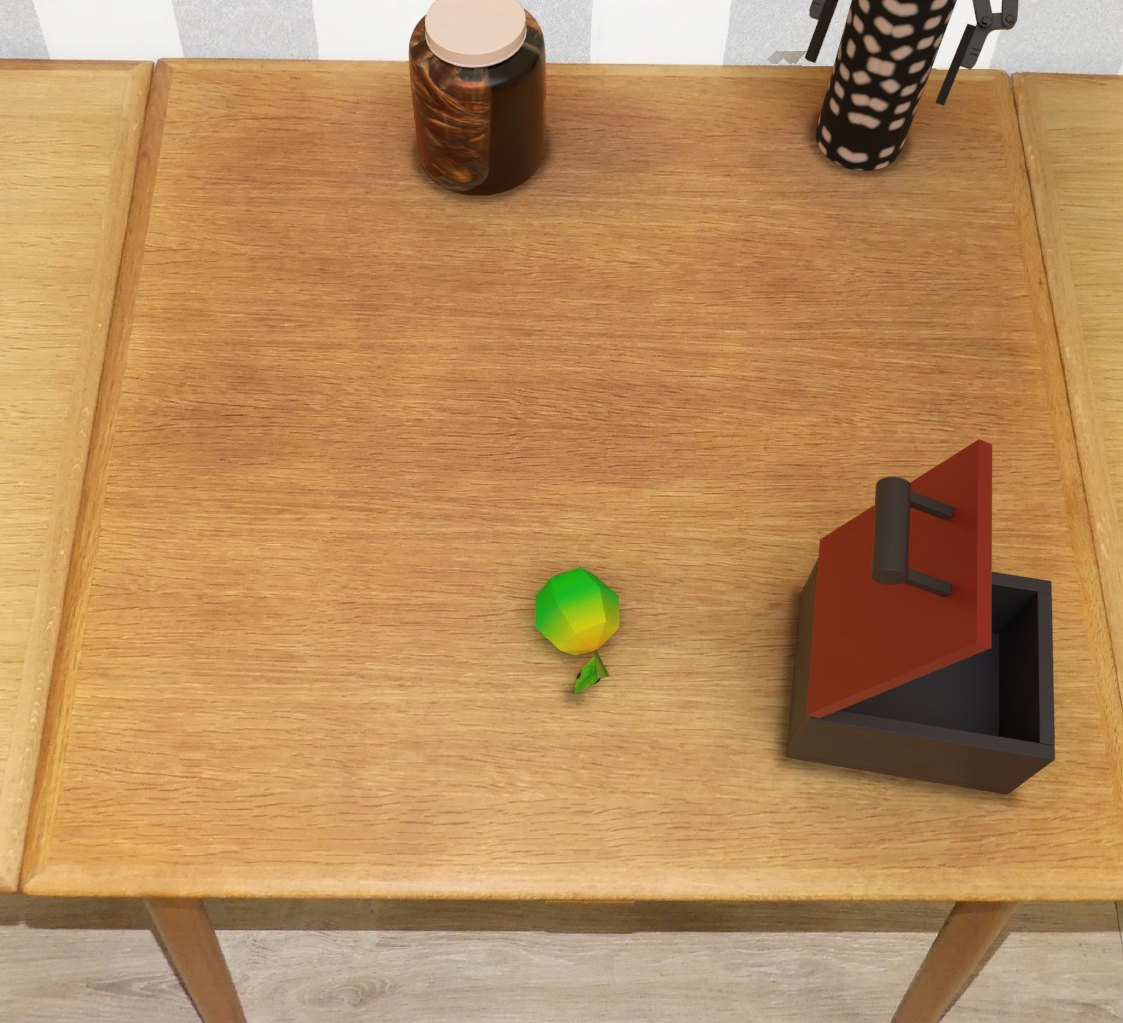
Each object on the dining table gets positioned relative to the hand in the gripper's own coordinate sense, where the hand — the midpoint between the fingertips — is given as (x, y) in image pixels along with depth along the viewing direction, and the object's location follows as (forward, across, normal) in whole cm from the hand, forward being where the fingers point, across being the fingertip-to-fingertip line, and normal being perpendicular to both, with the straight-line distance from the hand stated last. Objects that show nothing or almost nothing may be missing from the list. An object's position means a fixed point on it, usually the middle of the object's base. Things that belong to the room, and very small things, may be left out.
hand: (874, 82), depth 107 cm
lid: (+30, -16, +41) cm, 53 cm away
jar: (+17, +32, +3) cm, 36 cm away
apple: (+46, +3, +32) cm, 56 cm away
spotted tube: (+5, 0, -9) cm, 10 cm away
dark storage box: (+41, -20, +28) cm, 54 cm away
